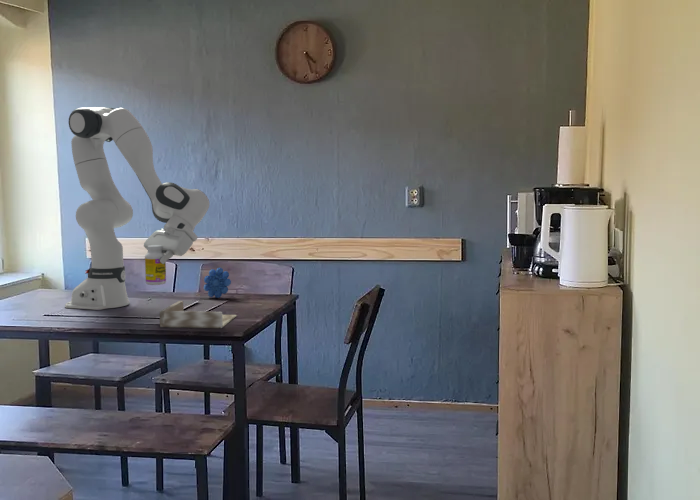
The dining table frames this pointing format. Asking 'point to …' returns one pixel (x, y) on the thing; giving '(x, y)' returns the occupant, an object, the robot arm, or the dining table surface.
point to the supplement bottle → (155, 266)
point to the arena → (192, 318)
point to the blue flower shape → (217, 282)
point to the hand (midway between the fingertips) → (153, 261)
